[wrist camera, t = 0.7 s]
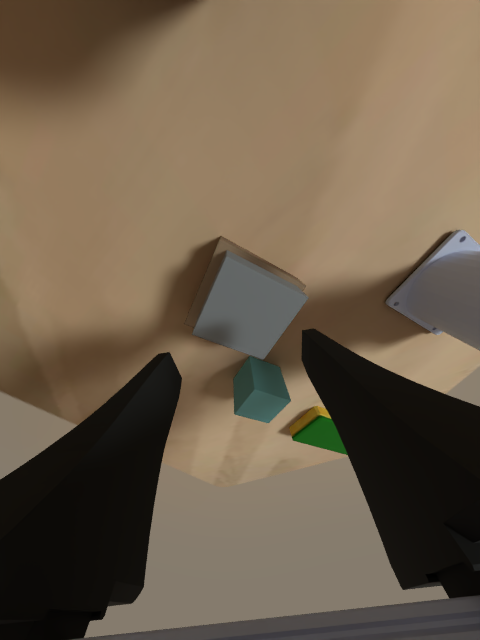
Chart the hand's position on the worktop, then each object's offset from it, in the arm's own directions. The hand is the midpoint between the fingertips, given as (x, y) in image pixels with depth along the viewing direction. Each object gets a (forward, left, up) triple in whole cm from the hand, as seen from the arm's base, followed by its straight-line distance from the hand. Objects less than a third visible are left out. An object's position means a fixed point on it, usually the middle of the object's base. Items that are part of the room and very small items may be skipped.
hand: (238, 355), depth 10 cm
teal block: (-8, +9, -9) cm, 15 cm away
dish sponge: (-27, +15, -10) cm, 32 cm away
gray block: (-1, -1, -7) cm, 7 cm away
